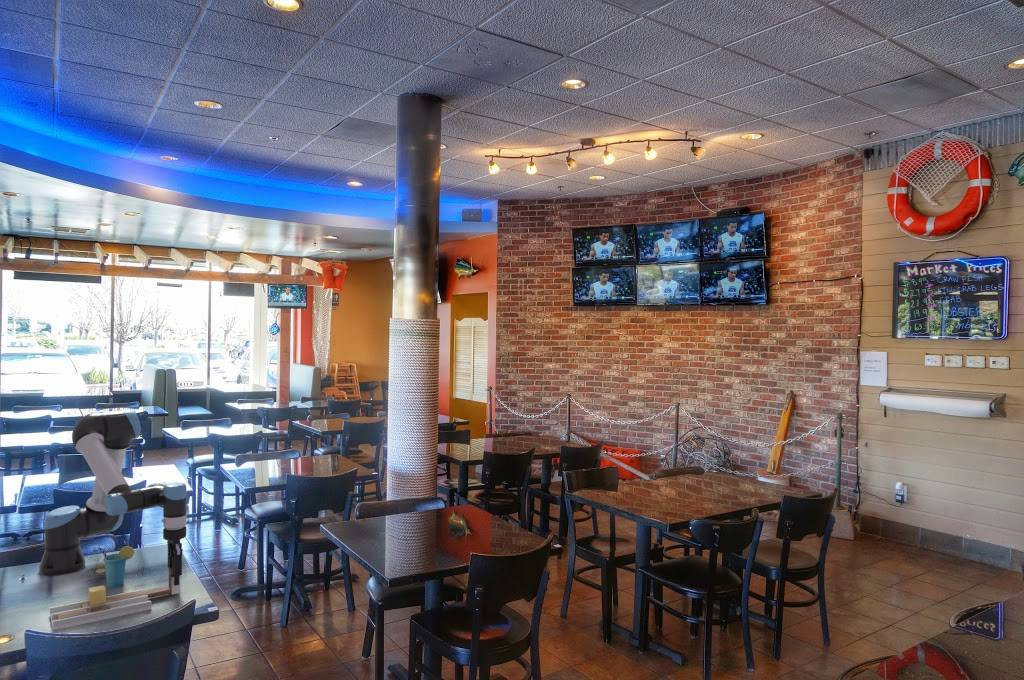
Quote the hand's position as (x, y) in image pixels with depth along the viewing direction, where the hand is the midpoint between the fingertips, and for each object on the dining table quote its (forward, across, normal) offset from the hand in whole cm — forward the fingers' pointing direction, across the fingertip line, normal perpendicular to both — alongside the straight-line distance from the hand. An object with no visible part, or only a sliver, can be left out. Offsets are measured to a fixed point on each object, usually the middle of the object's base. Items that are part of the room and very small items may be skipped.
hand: (174, 591), depth 251 cm
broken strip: (0, +6, -28) cm, 29 cm away
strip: (0, 0, -13) cm, 13 cm away
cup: (+1, -20, -17) cm, 27 cm away
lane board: (+1, +3, -23) cm, 23 cm away
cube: (-2, 0, -24) cm, 24 cm away
